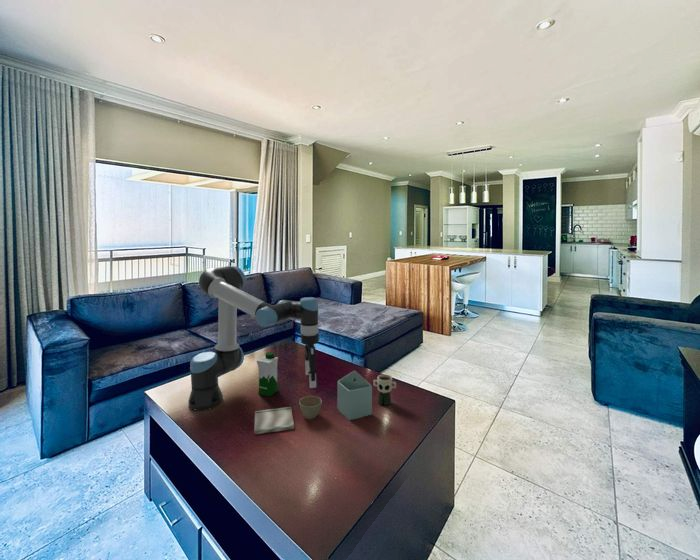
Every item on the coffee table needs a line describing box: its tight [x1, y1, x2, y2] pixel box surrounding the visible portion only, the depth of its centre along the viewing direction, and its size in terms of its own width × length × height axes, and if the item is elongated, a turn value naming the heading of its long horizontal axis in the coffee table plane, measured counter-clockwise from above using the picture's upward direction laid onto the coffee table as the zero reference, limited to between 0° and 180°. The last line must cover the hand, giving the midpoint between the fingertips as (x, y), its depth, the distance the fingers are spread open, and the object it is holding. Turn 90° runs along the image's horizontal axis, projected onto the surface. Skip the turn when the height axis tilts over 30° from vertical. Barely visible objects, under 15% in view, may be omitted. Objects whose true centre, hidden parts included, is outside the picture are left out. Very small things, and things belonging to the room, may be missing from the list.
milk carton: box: [256, 351, 279, 397], centre depth 168 cm, size 9×9×20 cm
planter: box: [337, 370, 373, 421], centre depth 147 cm, size 16×8×20 cm, turn 73°
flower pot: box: [298, 395, 323, 420], centre depth 147 cm, size 10×10×7 cm
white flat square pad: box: [253, 406, 295, 435], centre depth 144 cm, size 16×16×1 cm
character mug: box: [372, 373, 397, 406], centre depth 159 cm, size 11×7×13 cm, turn 77°
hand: (310, 380), depth 145 cm, fingers open, 13 cm apart
